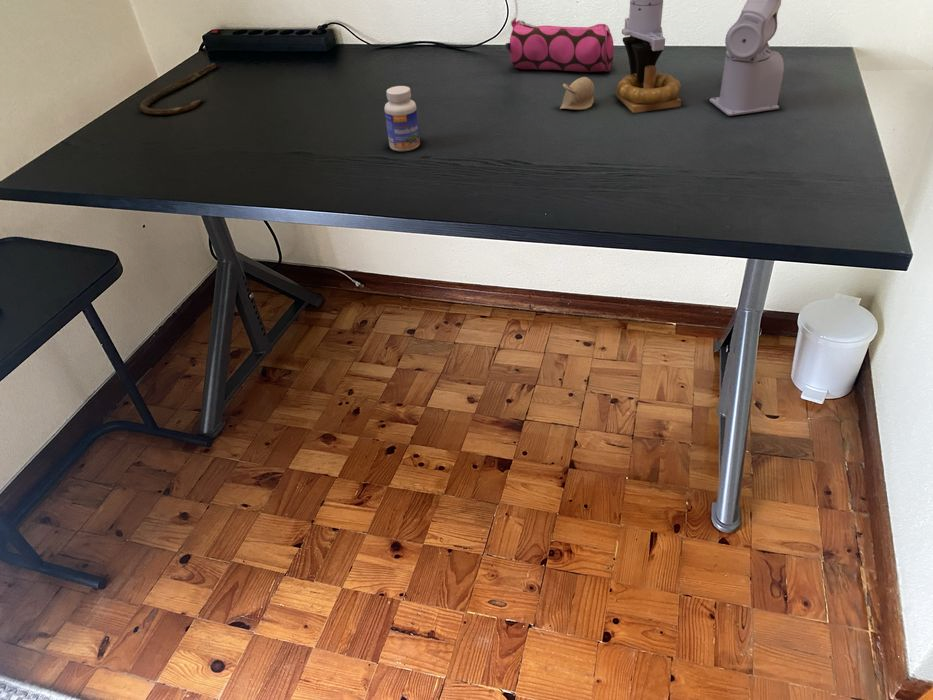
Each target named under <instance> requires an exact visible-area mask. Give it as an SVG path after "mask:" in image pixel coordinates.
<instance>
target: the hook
mask: <svg viewBox="0 0 933 700" xmlns="http://www.w3.org/2000/svg"><path fill="white" fill-rule="evenodd" d="M216 68H217V65H216V63H215V62H211V63H209V64H207V66H206V67H203V68H201V69H200V70H198V71H196V72H193V73H192V74H190V75H188V76H187V77H184V78H183V79H180V80H178V81H176V82H174V83H173V84H170V85H168V86H165V87H163V88H161V89H160V90H158V91H156V92H154V93H152V94H151V95H149V96H147V97H146V98H145V99H144V100H142V101H141V102H140V105H139V109H140V111H141V112H142V113H145V114H147V115H152V116H171V115H178V114H183V113H186V112H189V111H191V110H193V109H195V108H196V107H198V106H200V104H201V103H202V101H203V100H204V99H203V98H201V99H197V100H194V101H192V102H189V103H188V104H186V105H182V106H179V107H173V108H172V107H171V108H170V107H169V108H152V107H151V108H150V106H151V105H152V104H153V103H155V102H156V101H158V100H160V99H161V98H163V97H165V96H168V95H169V94H171V93H174V92H175V91H177V90H180V89H181V88H183V87H186V86H187V85H189V84H191V83H193V82H194V81H196V80H197V79H199V78H201V77H203V76H204V75H206V74H207V73H209V72H211V71H213V70H215V69H216Z"/></svg>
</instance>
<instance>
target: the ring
mask: <svg viewBox="0 0 933 700" xmlns="http://www.w3.org/2000/svg"><path fill="white" fill-rule="evenodd" d="M681 85H682V84H681V82H680V81H679V79H677V78H676V77H674V76H673V75H671V74H667V73H663V72H657V71H656V77H655V87H657V88H653V89H649V88H640V87H643V86H644V83H641V84H639V83H638V81H637V73H635V74H631V73H630V74H629V75H626V76H624V77H622V78H621V79H620V80H619V82H618V84H617V86H616V93H618V94H619V95H620V96H621V97H622V98H623V99H625V100H627V101H631V102H634V103H640V104H656V103H663V102H667V101H669V100H671V99H673V98H675V97H678V96H679V94H680V92H681V88H682V86H681Z"/></svg>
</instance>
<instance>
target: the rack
mask: <svg viewBox="0 0 933 700" xmlns="http://www.w3.org/2000/svg"><path fill="white" fill-rule="evenodd" d="M656 72H657V66H656V65H655V66H652V65H650V66H646V67H645V74H644V86H643V87H640V88H649V89H653V88H657V87H655V77H656ZM615 97H617V99H618V100H619V101H620V102H621V103H622V104H623V105H625V107H626V108H627V109H628V110H629V111H630V112H631V113H633V114H637V113H644V112H650V111H651V112H652V111H658V110H665V109H671V108H679V107H682V99H681V98H680V97H678V96H677V97H675V98H673V99H671V100H669V101H667V102H663V103H656V104H640V103H634V102H631V101H627V100H625V99H623V98H622V97H621V96H620V95H619V94H618V93H617V92H616V94H615Z"/></svg>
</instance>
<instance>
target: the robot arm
mask: <svg viewBox="0 0 933 700" xmlns="http://www.w3.org/2000/svg"><path fill="white" fill-rule="evenodd" d="M781 5H782V0H746V2H745V4H744V6H743V7H742V9H741V12H740V14H739V17H738V19H736V21H735V22H734V23H733V24H732V26H731V27H730V28H728V30H727V32H726V35H725V40H724V43H725V48H726V51H725V57H724V64H723V71H722V78H721V84H720V93H719V96H716V97H710V98H709V102H710V103H711V104H713V105H714V106H715V108H717V109H719V110H720V111H721V112H722V113H724V114H726V116H728V117H731V116H740V115H746V114H754V113H760V112H761V113H762V112H769V111H775V110H779V109H780V106H779V105H778V103H779V97H780V91H781V87H782V83H783V78H784V71H785V70H784V69H785V64H784V63H785V62H784V59H783V57H782V55H781V54H780V52H778V51H775V50H773V51H772V50H771V47H770V44H769V41H770V40H772V39H773V37H774V36H775V34H776V32H777V30H778V13H779V11H780V9H781ZM663 9H664V0H629V12H628V14H629V15H628V17H626V18H625V19H624V28H622V29H621V35H623V36H624V37H623V38H622V43H623V45H624V48H625V51H626V53H627V58H628V65H629V72H630V75H631V74H635V73H637V81H638V83H639V84H641V83H644V74H645V67H646V66H650V65H652V66H656V64H657V62H658V60H659V58H660V56H661V55H662V53H663V52H664V50H665V48H666V47H665V46H666V38H665V37H664V33H663V28H662V19H663Z"/></svg>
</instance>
